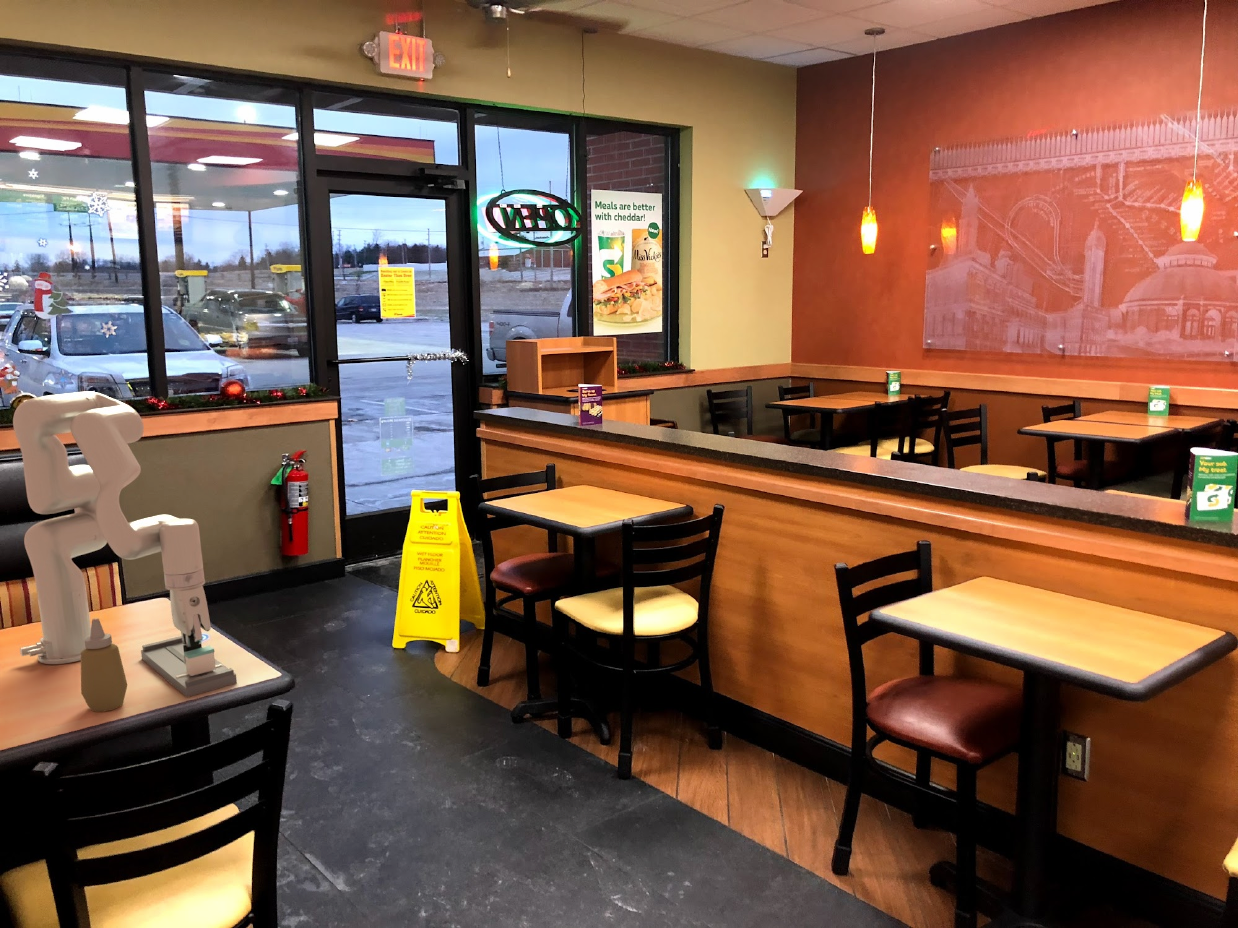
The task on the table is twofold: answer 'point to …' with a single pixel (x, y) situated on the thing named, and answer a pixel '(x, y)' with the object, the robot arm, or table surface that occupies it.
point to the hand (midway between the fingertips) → (194, 662)
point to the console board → (184, 668)
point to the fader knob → (200, 660)
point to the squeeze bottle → (102, 671)
